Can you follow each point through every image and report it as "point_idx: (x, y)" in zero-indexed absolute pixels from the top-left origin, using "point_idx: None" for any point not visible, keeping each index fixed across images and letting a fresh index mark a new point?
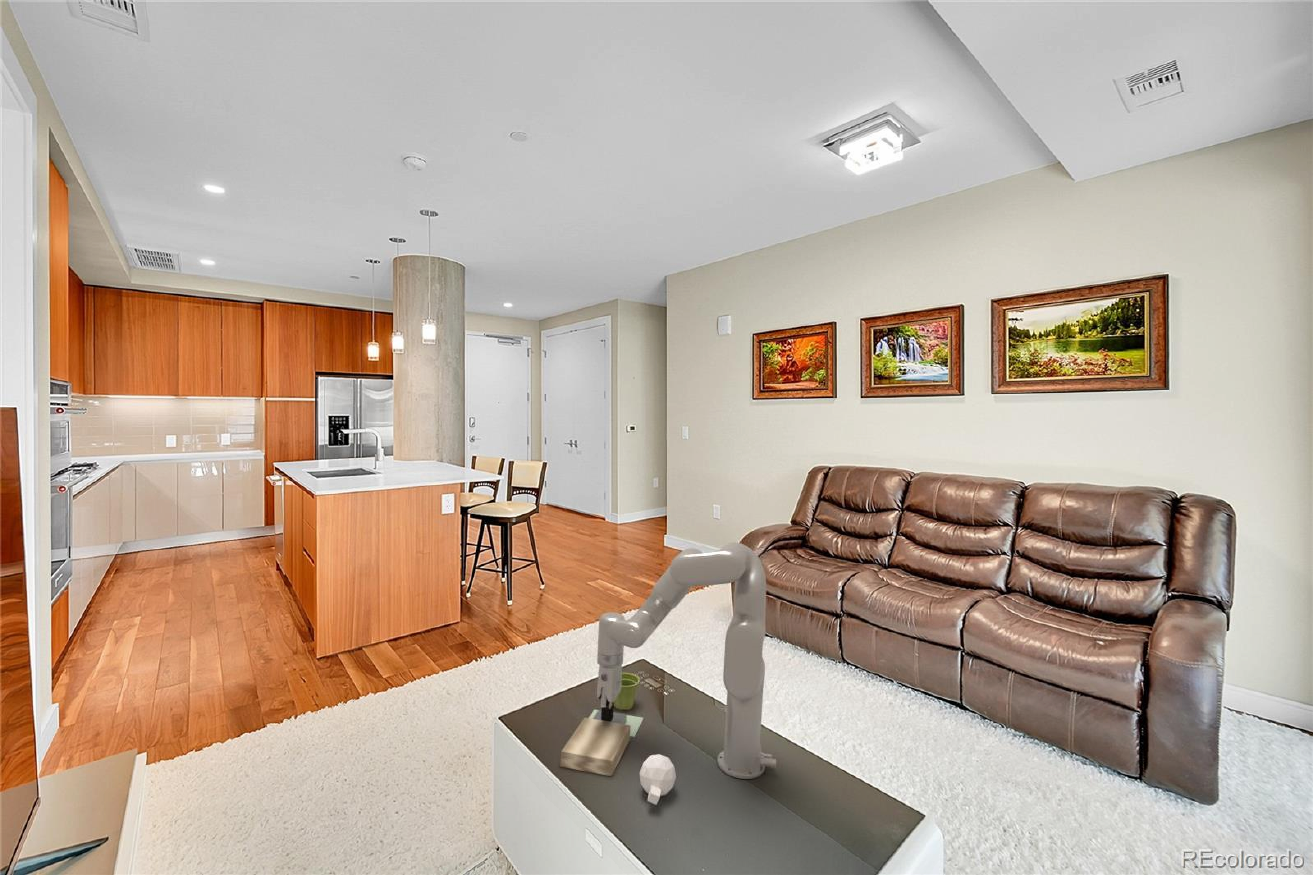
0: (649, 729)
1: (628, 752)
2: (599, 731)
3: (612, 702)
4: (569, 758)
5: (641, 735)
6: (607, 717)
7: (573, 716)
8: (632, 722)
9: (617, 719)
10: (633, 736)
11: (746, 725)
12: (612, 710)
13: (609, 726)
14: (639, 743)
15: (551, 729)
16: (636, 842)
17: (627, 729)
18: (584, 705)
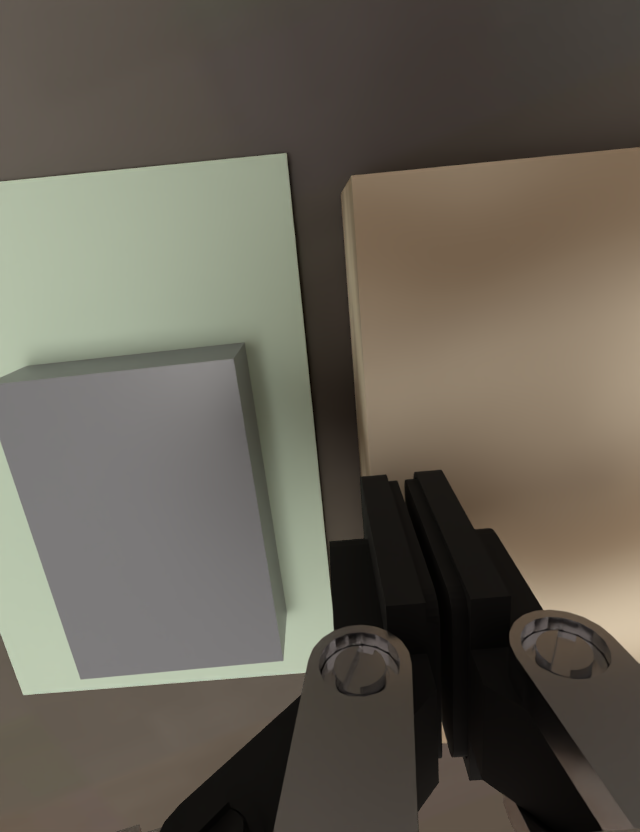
0: (24, 25)
1: (599, 108)
2: (635, 516)
3: (417, 696)
4: None
5: (204, 83)
6: (497, 549)
7: (202, 773)
8: (20, 288)
9: (156, 443)
10: (287, 166)
11: None
12: (461, 559)
13: (484, 453)
14: (380, 41)
15: (436, 818)
16: None
17: (485, 179)
18: (4, 772)
